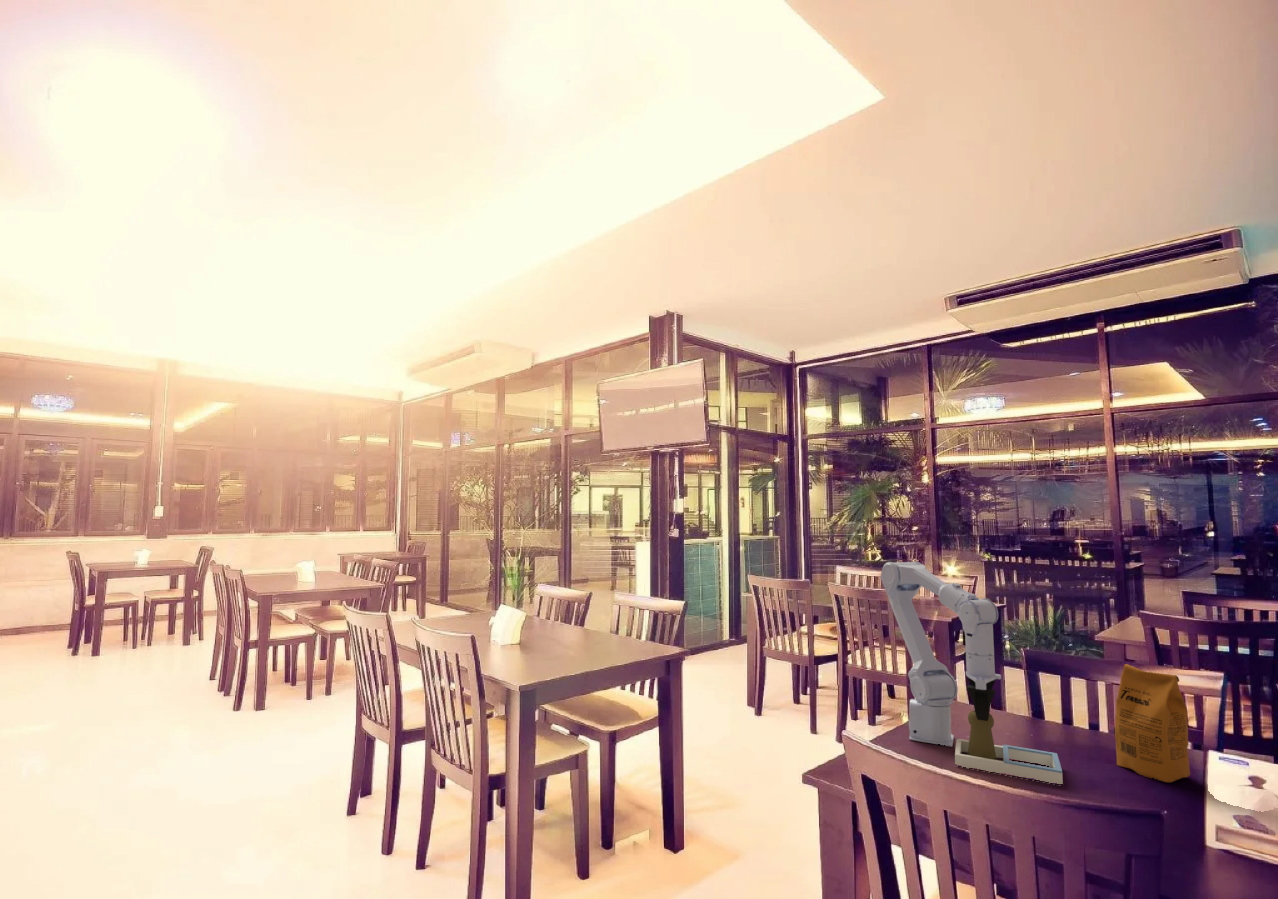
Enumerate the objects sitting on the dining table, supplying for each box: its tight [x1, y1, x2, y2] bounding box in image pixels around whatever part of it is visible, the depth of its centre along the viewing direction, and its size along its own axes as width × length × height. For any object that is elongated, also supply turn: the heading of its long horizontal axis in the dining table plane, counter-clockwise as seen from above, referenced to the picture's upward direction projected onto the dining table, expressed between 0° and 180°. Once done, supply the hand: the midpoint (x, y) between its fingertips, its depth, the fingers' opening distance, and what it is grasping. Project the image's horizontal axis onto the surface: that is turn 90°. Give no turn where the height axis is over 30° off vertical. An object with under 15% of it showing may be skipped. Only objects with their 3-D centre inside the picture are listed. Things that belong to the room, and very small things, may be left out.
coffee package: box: [1114, 663, 1191, 783], centre depth 142 cm, size 10×12×22 cm
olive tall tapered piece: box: [967, 710, 998, 760], centre depth 145 cm, size 6×6×11 cm
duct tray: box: [954, 738, 1064, 785], centre depth 143 cm, size 20×11×3 cm, turn 62°
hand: (982, 715), depth 145 cm, fingers open, 7 cm apart
